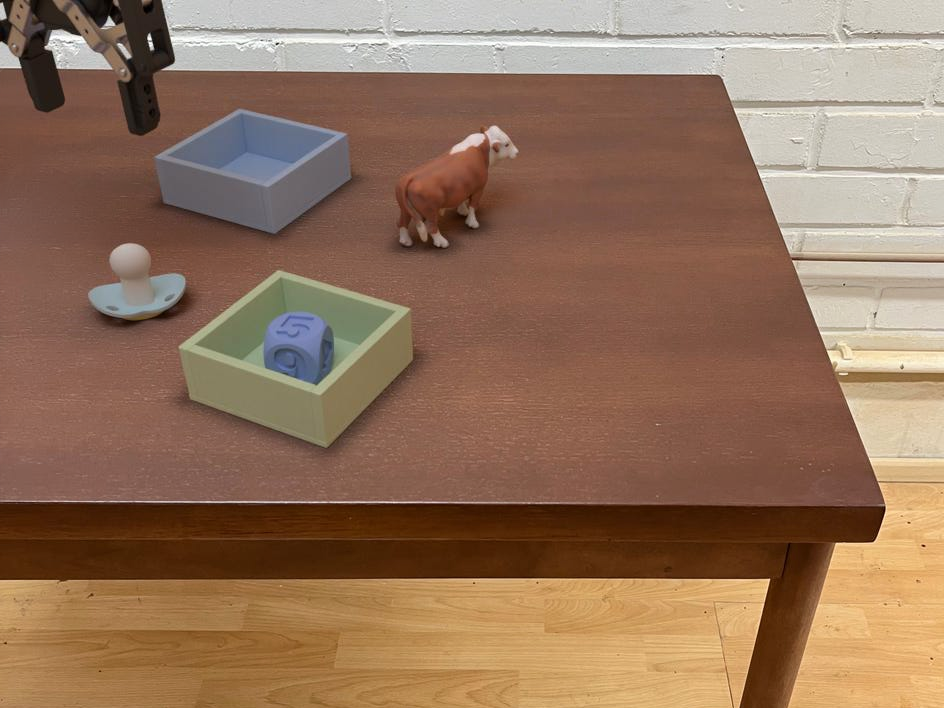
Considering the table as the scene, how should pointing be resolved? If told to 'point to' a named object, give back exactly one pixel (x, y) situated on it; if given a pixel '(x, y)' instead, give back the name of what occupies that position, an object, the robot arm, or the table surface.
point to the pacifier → (136, 286)
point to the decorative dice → (299, 346)
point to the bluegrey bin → (254, 169)
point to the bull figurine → (450, 183)
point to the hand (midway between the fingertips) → (97, 119)
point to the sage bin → (286, 398)
